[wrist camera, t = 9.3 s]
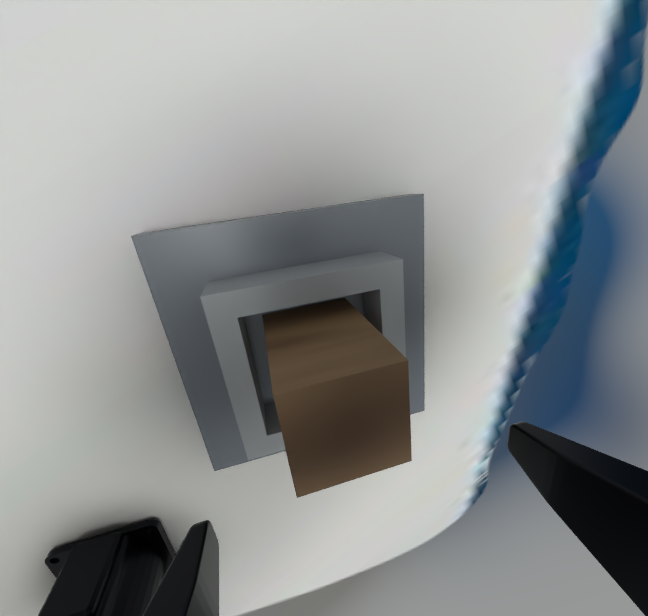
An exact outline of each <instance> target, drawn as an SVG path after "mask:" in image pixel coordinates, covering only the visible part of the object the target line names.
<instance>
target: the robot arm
mask: <svg viewBox="0 0 648 616" xmlns="http://www.w3.org/2000/svg"><path fill="white" fill-rule="evenodd" d="M507 445H508V449H509V451H510V452H511V454H512V456H513V457H514V458H515V460H516V461H517V462H518V464H519V465H520V466H521V468H522V469H523V471H524V472H525V473H526V475H527V476H528V477H529V479H530V480H531V481H532V483H533V484H534V485H535V487H536V488H537V489H538V491H539V492H540V493H541V495H542V496H543V497H544V499H545V500H546V501H547V503H548V504H549V505H550V506H551V507H552V508H553V510H554V511H555V512H556V513H557V514H558V515H559V517H560V518H561V519H562V520H563V521H564V522H565V524H566V525H567V526H568V527H569V528H570V529H571V530H572V532H573V533H574V534H575V535H576V536H577V537H578V538H579V540H580V541H581V542H582V543H583V544H584V545H585V547H587V549H588V550H589V551H590V552H591V553H592V555H593V556H594V557H595V558H596V559H597V560H598V562H599V563H600V564H601V565H602V566H603V567H604V568H605V570H606V571H607V572H608V573H609V574H610V575H611V577H612V578H613V579H614V580H615V581H616V582H617V583H618V585H619V586H620V587H621V588H622V589H623V590H624V592H625V593H626V594H627V595H628V596H629V597H630V598H631V600H632V601H633V602H634V603H635V604H636V605H637V607H638V608H639V609H640V610H641V611H642V612H643V613H644V615H645V616H648V471H646V470H644V469H641V468H638V467H636V466H634V465H631V464H629V463H626V462H624V461H621V460H619V459H616V458H614V457H611V456H609V455H606V454H604V453H601V452H599V451H596V450H594V449H591V448H589V447H586V446H584V445H581V444H579V443H576V442H574V441H571V440H569V439H566V438H564V437H562V436H559V435H557V434H554V433H552V432H549V431H547V430H544V429H542V428H539V427H537V426H534V425H532V424H529V423H527V422H518V423H515V424H512V425H511V426H510V429H509V435H508V444H507ZM45 564H46V565H47V566H48V568H49V569H50V570H51V572H52V573H53V574H54V576H55V577H56V578H57V579H56V581H55V583H54V585H53V587H52V589H51V591H50V593H49V595H48V597H47V599H46V601H45V603H44V605H43V607H42V609H41V611H40V613H39V615H38V616H219V544H218V539H217V537H216V534H215V532H214V529H213V527H212V524H211V522H210V521H209V520H206V521H203V522H200V523H197V524H194V525H193V526H192V527H191V528H190V530H189V532H188V533H187V535H186V537H185V539H184V541H183V543H182V544H181V546H180V548H179V550H178V552H177V554H176V555H175V553H174V551H173V549H172V547H171V545H170V543H169V541H168V539H167V537H166V535H165V533H164V531H163V528H162V526H161V524H160V522H159V521H157V520H154V519H151V520H147V521H144V522H141V523H137V524H134V525H131V526H127V527H124V528H121V529H118V530H114V531H111V532H108V533H105V534H101V535H98V536H95V537H91V538H88V539H85V540H82V541H78V542H75V543H72V544H69V545H65V546H62V547H59V548H55V549H53V550H51V551H50V552H49V554H48V556H47V557H46V559H45Z"/></svg>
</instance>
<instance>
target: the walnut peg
mask: <svg viewBox="0 0 648 616" xmlns="http://www.w3.org/2000/svg"><path fill="white" fill-rule="evenodd" d="M262 317H263V324H264V332H265V339H266V347H267V354H268V362H269V369H270V377H271V385H272V392H273V398H274V402H275V406H276V410H277V415H278V419H279V423H280V427H281V432H282V436H283V440H284V444H285V449H286V453H287V457H288V462H289V466H290V470H291V474H292V479H293V483H294V487H295V491H296V496H297V498H298V497H301V496H304V495H307V494H310V493H313V492H316V491H319V490H322V489H326V488H329V487H332V486H335V485H338V484H341V483H344V482H347V481H350V480H353V479H356V478H360V477H363V476H366V475H369V474H372V473H375V472H378V471H381V470H384V469H387V468H390V467H394V466H397V465H400V464H403V463H406V462H409V461H412V460H411V428H410V396H409V364H408V359H407V358H406V357H405V356H404V355H403V354H402V353H401V352H400V351H399V350H398V349H397V348H396V347H394V346H393V345H392V344H391V343H390V342H389V341H388V340H387V339H386V338H385V337H384V336H383V335H382V334H381V333H380V332H379V331H378V330H377V329H376V328H375V327H374V326H373V325H372V324H371V323H370V322H369V321H368V320H367V319H366V318H365V317H364V316H363V315H362V314H361V313H360V312H359V311H358V310H357V309H356V308H355V307H354V306H353V305H352V304H351V303H350V302H349V301H347V300H346V299H345V298H341V299H336V300H332V301H327V302H322V303H317V304H312V305H308V306H303V307H298V308H293V309H288V310H284V311H279V312H274V313H269V314H264V315H262Z"/></svg>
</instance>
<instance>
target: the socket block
mask: <svg viewBox="0 0 648 616" xmlns="http://www.w3.org/2000/svg"><path fill="white" fill-rule="evenodd" d="M131 237H132V240H133V243H134V245H135V248H136V251H137V254H138V257H139V260H140V262H141V265H142V268H143V271H144V274H145V276H146V279H147V282H148V285H149V288H150V291H151V293H152V296H153V299H154V302H155V305H156V307H157V310H158V313H159V316H160V319H161V322H162V324H163V327H164V330H165V333H166V336H167V338H168V341H169V344H170V347H171V350H172V353H173V355H174V358H175V361H176V364H177V367H178V369H179V372H180V375H181V378H182V381H183V384H184V386H185V389H186V392H187V395H188V398H189V400H190V403H191V406H192V409H193V412H194V415H195V417H196V420H197V423H198V426H199V429H200V432H201V434H202V437H203V440H204V443H205V446H206V448H207V451H208V454H209V457H210V460H211V463H212V465H213V468H214V471H217V470H220V469H224V468H227V467H230V466H234V465H237V464H241V463H244V462H248V461H251V460H255V459H258V458H262V457H265V456H269V455H272V454H275V453H279V452H282V451H286V449H285V444H284V440H283V436H282V432H281V427H280V423H279V419H278V415H277V410H276V406H275V402H274V398H273V392H272V385H271V377H270V369H269V362H268V354H267V347H266V339H265V332H264V324H263V317H262V315H264V314H269V313H274V312H279V311H284V310H288V309H293V308H298V307H303V306H308V305H312V304H317V303H322V302H327V301H332V300H336V299H341V298H345V299H346V300H347V301H349V302H350V303H351V304H352V305H353V306H354V307H355V308H356V309H357V310H358V311H359V312H360V313H361V314H362V315H363V316H364V317H365V318H366V319H367V320H368V321H369V322H370V323H371V324H372V325H373V326H374V327H375V328H376V329H377V330H378V331H379V332H380V333H381V334H382V335H383V336H384V337H385V338H386V339H387V340H388V341H389V342H390V343H391V344H392V345H393V346H394V347H396V348H397V349H398V350H399V351H400V352H401V353H402V354H403V355H404V356H405V357H406V358H407V359H408V364H409V396H410V415H411V414H414V413H417V412H421V411H424V194H409V195H402V196H395V197H388V198H381V199H374V200H367V201H360V202H353V203H346V204H339V205H332V206H325V207H318V208H312V209H305V210H298V211H291V212H284V213H277V214H270V215H263V216H256V217H249V218H242V219H235V220H228V221H221V222H214V223H207V224H201V225H194V226H187V227H180V228H173V229H166V230H159V231H152V232H145V233H140V234H137V235H133V236H131Z"/></svg>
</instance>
